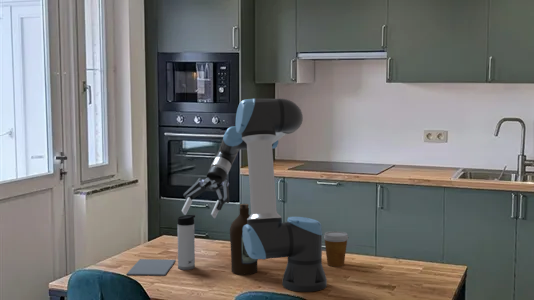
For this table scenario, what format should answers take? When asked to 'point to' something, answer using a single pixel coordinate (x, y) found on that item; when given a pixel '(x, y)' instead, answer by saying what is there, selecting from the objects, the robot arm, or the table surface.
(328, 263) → the disposable coffee cup
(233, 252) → the olive oil
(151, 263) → the rubber mat
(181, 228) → the travel mug
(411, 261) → the table surface
